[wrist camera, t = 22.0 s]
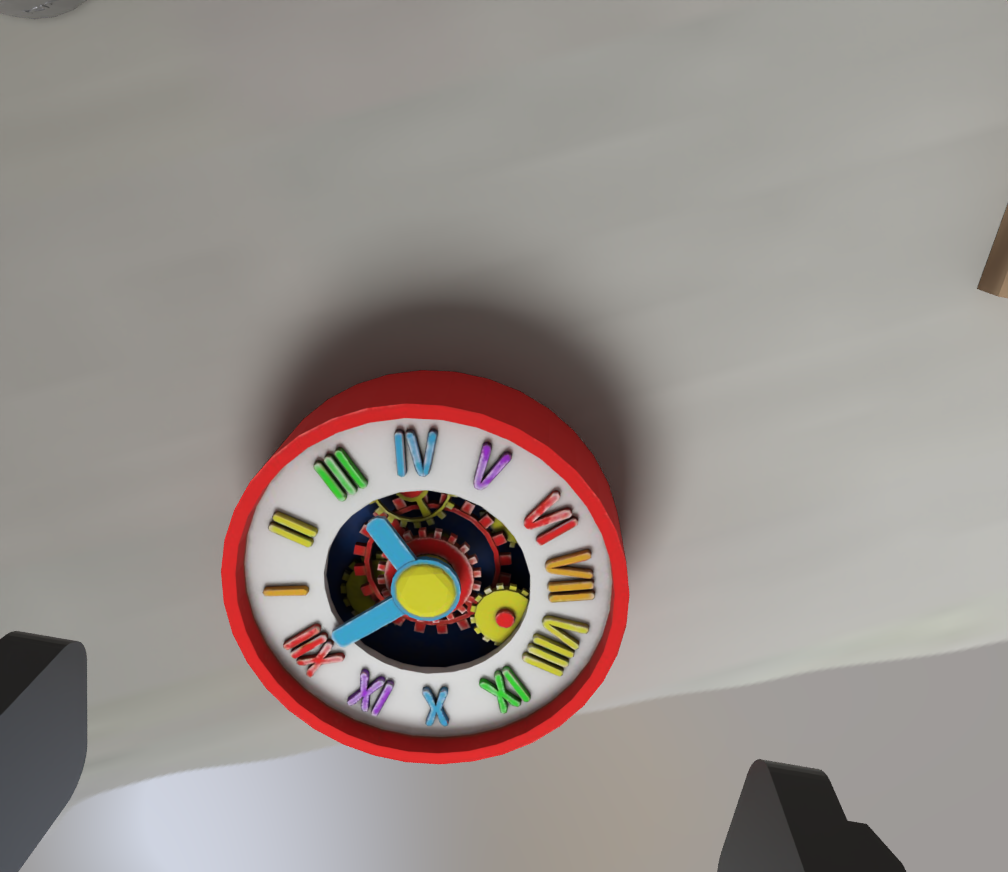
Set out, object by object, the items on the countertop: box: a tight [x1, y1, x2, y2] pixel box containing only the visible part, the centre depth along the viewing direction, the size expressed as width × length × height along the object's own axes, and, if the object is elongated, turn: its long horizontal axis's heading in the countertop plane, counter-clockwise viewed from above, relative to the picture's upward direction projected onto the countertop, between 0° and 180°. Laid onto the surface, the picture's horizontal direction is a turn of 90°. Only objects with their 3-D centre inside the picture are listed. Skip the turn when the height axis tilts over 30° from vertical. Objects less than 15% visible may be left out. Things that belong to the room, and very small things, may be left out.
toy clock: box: [221, 370, 629, 764], centre depth 44 cm, size 20×6×20 cm
